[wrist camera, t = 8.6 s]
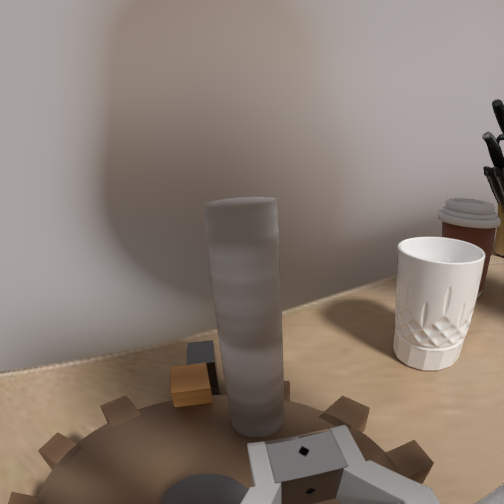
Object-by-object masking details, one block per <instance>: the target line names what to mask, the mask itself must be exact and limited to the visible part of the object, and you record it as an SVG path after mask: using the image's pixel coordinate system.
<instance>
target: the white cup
mask: <svg viewBox="0 0 504 504" xmlns="http://www.w3.org/2000/svg"><path fill="white" fill-rule="evenodd" d="M484 261H485V252H484V251H483V250H482V249H481V248H479V247H478V246H476V245H473V244H471V243H468V242H465V241H461V240H457V239H451V238H444V237H416V238H410V239H406V240H403V241H401V242H400V243H399V244H398V260H397V262H398V263H397V286H396V309H395V325H396V327H395V335H394V343H393V350H394V352H395V354H396V357H397V358H398V359H399V360H400V361H402V362H403V363H404V364H406V365H407V366H409V367H413V368H416V369H419V370H423V371H439V370H442V369H445V368H447V367H450V366H452V365H453V363H454V362H455V361H456V360H457V359H458V358H459V355H460V352H461V348H462V345H463V342H464V338H465V335H466V333H467V331H468V328H469V325H470V321H471V317H472V314H473V311H474V308H475V304H476V299H477V295H478V291H479V286H480V281H481V276H482V271H483V266H484Z"/></svg>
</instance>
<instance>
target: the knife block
mask: <svg viewBox="0 0 504 504" xmlns="http://www.w3.org/2000/svg"><path fill="white" fill-rule="evenodd" d="M492 106H493V110H494V113H495V116H496V119H497V121H498V124H499V126H500V128H501V131H502V133H503V134H501V135H499V136H498V137H497V139H495V137H494V136H493V135H492V134H491V133H490V132H486V133H485V134H483V136H482V137H483V139H484V140H485V142H486V144H487V146H488V150H489V153H490V157H491V160H492V162H493V164H494V167H493V168H490V167H487V166H485V167H484V175H485V176H486V177H487V179H488V182H489V184H490V187H491V189H492V192H493V194H494V196H495V198H496V200H497V203H498V217H499V218H500V220H501V224H500V226H499V227H497V234H496V245H495V253H497V254H499V255H500V256H504V157H503V154H502V151H501V148H500V146H499V142H500V140H504V105H503V103H502V101H501V100H494V101H493V102H492Z"/></svg>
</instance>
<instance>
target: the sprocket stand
mask: <svg viewBox="0 0 504 504" xmlns="http://www.w3.org/2000/svg"><path fill="white" fill-rule="evenodd" d="M205 362H206V366H207V371H208V377H209V382H210V388H211V393H212V395H221V393H220V384H219V376H218V370H217V364H216V357H215V351H214V344H213V340H212V341H203V342H193V343H188V346H187V365H191V364H198V363H205Z"/></svg>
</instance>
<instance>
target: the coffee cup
mask: <svg viewBox="0 0 504 504" xmlns="http://www.w3.org/2000/svg"><path fill="white" fill-rule="evenodd" d="M438 219H439V220H441V221H442V229H443V230H442V236H443V237H444V238H451V239H457V240H461V241H465V242H468V243H471V244H473V245H476V246H478V247H479V248H481V249H482V250H483V251H484V252H485V261H484V266H483V271H482V276H481V281H480V286H479V291H478V295H477V297H479V296H480V295H481V294H482V290H483V286H484V282H485V278H486V274H487V270H488V265H489V261H490V256H491V251H492V246H493V240H494V235H495V229H496V228H497V227H499V226H500V224H501V220H500V218H499V217H498V216H497V214H496V213H495V212H494V205H493V204H492V203H489V202H485V201H480V200H474V199H464V198H450V199H447V200H446V206H445V207H444V208H443V210H440V211H439V213H438Z"/></svg>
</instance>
